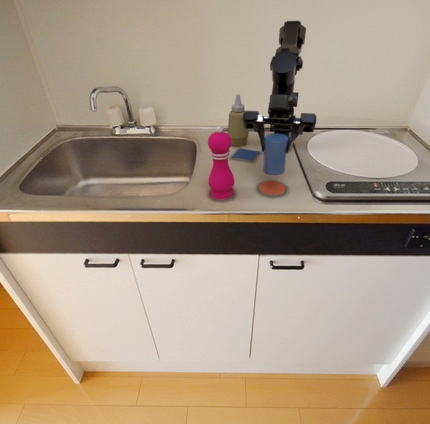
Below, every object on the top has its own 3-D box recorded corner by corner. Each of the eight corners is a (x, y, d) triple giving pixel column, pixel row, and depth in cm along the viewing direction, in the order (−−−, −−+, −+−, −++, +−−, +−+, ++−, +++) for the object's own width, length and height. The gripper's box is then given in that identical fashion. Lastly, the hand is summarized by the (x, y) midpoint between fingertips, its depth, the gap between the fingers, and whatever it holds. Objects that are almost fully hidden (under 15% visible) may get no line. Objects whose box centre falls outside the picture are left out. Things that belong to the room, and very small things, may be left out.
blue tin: (266, 163, 82) (268, 132, 76) (286, 167, 80) (290, 135, 74) (260, 173, 78) (261, 140, 72) (281, 177, 75) (284, 143, 70)
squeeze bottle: (223, 144, 109) (221, 95, 98) (236, 137, 114) (236, 90, 103) (239, 149, 105) (240, 99, 94) (252, 142, 109) (254, 93, 99)
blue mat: (239, 149, 105) (239, 148, 104) (259, 152, 102) (259, 151, 102) (231, 158, 99) (231, 156, 99) (252, 161, 96) (252, 160, 96)
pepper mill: (232, 202, 77) (230, 132, 65) (206, 200, 79) (200, 131, 67) (236, 188, 83) (236, 121, 71) (212, 186, 84) (208, 120, 72)
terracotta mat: (263, 180, 86) (263, 179, 86) (288, 185, 84) (288, 183, 84) (255, 193, 81) (255, 191, 81) (281, 198, 78) (281, 197, 78)
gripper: (244, 77, 70) (235, 137, 68) (322, 79, 66) (315, 142, 64) (248, 101, 81) (241, 153, 79) (316, 103, 77) (310, 158, 75)
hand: (274, 152), depth 74 cm, fingers closed on blue tin, 6 cm apart
